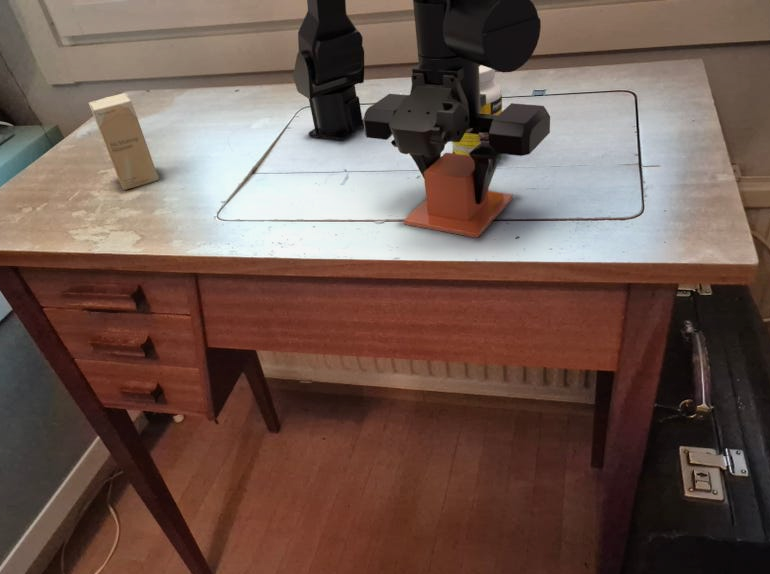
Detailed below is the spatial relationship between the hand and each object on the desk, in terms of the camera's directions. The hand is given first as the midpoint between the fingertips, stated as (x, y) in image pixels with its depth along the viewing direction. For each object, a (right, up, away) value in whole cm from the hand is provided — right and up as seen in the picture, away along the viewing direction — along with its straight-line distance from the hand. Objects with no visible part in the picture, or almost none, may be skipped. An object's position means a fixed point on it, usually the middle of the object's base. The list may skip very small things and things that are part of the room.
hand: (457, 199), depth 72 cm
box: (-42, +7, +20) cm, 47 cm away
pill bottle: (+4, +8, +11) cm, 14 cm away
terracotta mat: (0, -1, +1) cm, 2 cm away
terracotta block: (0, -1, +1) cm, 1 cm away
